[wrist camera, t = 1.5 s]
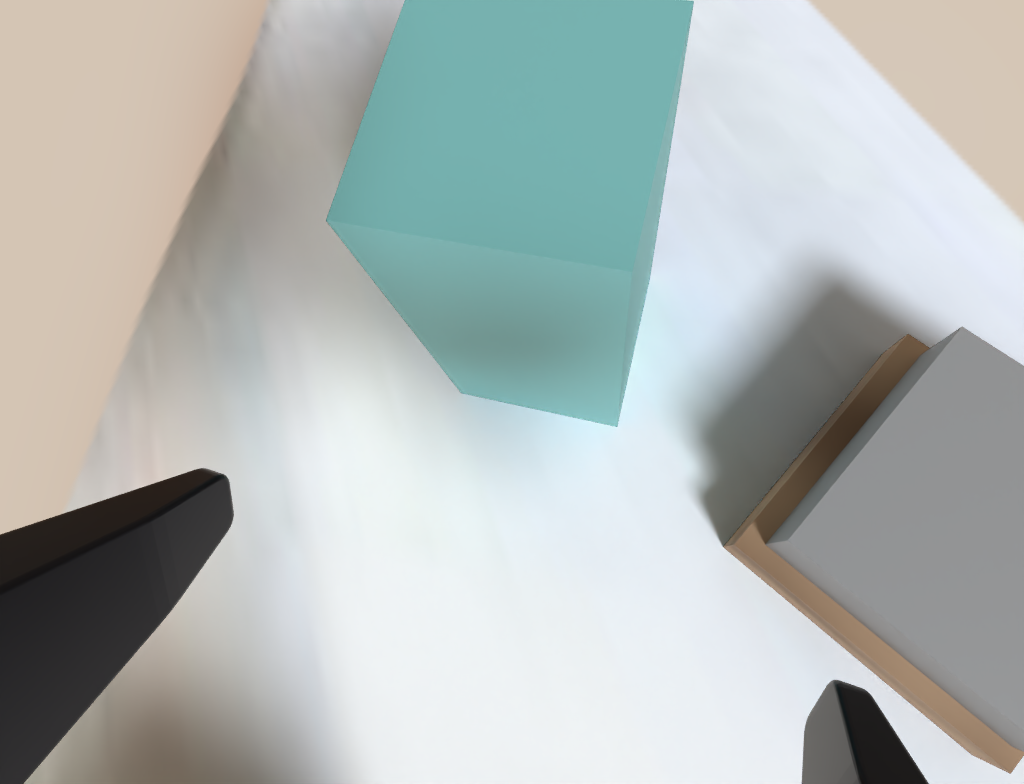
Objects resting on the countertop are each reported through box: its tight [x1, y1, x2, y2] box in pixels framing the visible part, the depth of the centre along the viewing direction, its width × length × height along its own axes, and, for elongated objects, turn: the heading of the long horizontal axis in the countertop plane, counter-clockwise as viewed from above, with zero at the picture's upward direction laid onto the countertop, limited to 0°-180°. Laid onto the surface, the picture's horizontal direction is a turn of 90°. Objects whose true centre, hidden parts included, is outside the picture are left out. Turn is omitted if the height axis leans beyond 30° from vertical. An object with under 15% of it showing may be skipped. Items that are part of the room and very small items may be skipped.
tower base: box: [723, 334, 1024, 774], centre depth 20 cm, size 9×9×2 cm
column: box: [326, 0, 694, 427], centre depth 19 cm, size 6×6×12 cm
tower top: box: [765, 327, 1024, 752], centre depth 18 cm, size 8×8×2 cm
